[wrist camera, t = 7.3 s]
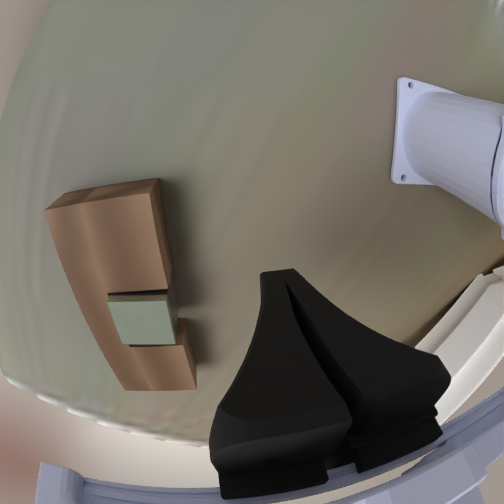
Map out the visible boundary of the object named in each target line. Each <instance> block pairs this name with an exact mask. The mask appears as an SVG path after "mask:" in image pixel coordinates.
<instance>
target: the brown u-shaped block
mask: <svg viewBox="0 0 504 504" xmlns="http://www.w3.org/2000/svg"><path fill="white" fill-rule="evenodd" d="M45 214H46V217H47V221H48V224H49V228H50V231H51V234H52V237H53V240H54V243H55V246H56V249H57V252H58V255H59V257H60V260H61V263H62V266H63V268H64V271H65V273H66V276H67V278H68V281H69V283H70V286H71V288H72V291H73V293H74V295H75V298H76V300H77V302H78V304H79V307H80V309H81V311H82V313H83V315H84V317H85V319H86V321H87V323H88V325H89V327H90V329H91V331H92V333H93V335H94V337H95V339H96V341H97V343H98V345H99V347H100V349H101V350H102V352H103V354H104V356H105V358H106V359H107V361H108V363H109V365H110V366H111V368H112V370H113V371H114V373H115V375H116V376H117V378H118V380H119V381H120V383H121V385H122V386H123V388H124V389H125V390H128V391H169V390H194V389H197V378H196V361H195V358H194V354H193V350H192V346H191V342H190V339H189V335H188V331H187V327H186V322H185V318H182V319H178V320H177V332H176V344H122V341H121V339H120V336H119V334H118V331H117V328H116V326H115V323H114V320H113V318H112V315H111V312H110V309H109V306H108V303H107V301H108V298H109V295H110V293H114V292H129V291H144V290H157V289H168V286H169V280H170V275H171V269H172V258H171V253H170V248H169V242H168V237H167V231H166V225H165V219H164V213H163V207H162V200H161V193H160V186H159V179H158V178H154V179H146V180H139V181H132V182H126V183H119V184H113V185H107V186H101V187H95V188H90V189H84V190H79V191H74V192H69V193H64V194H63V195H62V196H61V197H60V198H58V199H57V200H56V201H55V202H54V203H52V204H51V205H50V206H49V207H48V208H47V209H45Z"/></svg>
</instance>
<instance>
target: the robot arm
mask: <svg viewBox="0 0 504 504" xmlns="http://www.w3.org/2000/svg"><path fill="white" fill-rule="evenodd" d="M408 83H410V88H409V86H408ZM402 175H403V178H402V179H401V176H402ZM391 180H392V181H393V182H394V183H396V184H418V185H437V186H438V187H440V188H442V189H444V190H446V191H447V192H449V193H451V194H452V195H454V196H456V197H457V198H459V199H461V200H462V201H464V202H466V203H467V204H469V205H470V206H472V207H474V208H475V209H477V210H478V211H480V212H481V213H483V214H484V215H486V216H487V217H489V218H490V219H492V220H493V221H495V222H496V223H498V224H499V225H500V227H501V238H502V239H503V240H504V104H501V103H497V102H492V101H488V100H483V99H479V98H474V97H468V96H463V95H460V94H458V93H455V92H452V91H449V90H446V89H443V88H440V87H437V86H434V85H431V84H428V83H424V82H421V81H417V80H414V79H410V78H406V77H400V78H399V79H398V81H397V108H396V126H395V139H394V151H393V160H392V169H391ZM260 289H261V306H260V311H259V316H258V320H257V325H256V328H255V332H254V335H253V338H252V341H251V344H250V346H249V349H248V351H247V354H246V356H245V359H244V361H243V363H242V365H241V367H240V369H239V371H238V373H237V375H236V377H235V379H234V381H233V383H232V385H231V386H230V388H229V389H228V391H227V393H226V394H225V396H224V397H223V399H222V400H221V402H220V404H219V405H218V407H217V411H216V414H215V417H214V420H213V424H212V427H211V432H210V437H209V450H210V459H211V463H212V464H213V466H214V467H215V469H216V470H217V472H218V474H219V484H220V487H217V488H163V487H148V486H137V485H128V484H121V483H114V482H107V481H101V480H96V479H90V478H86V477H83V476H82V475H81V474H79V473H78V472H76V471H74V470H71V469H69V468H66V467H61V466H58V465H54V464H51V463H47V462H44V461H42V462H41V464H40V470H39V476H38V483H37V491H36V499H35V504H270V503H276V502H282V501H288V500H293V499H299V498H303V497H308V496H312V495H316V494H320V493H324V492H328V491H332V490H335V489H339V488H342V487H346V486H349V485H352V484H355V483H358V482H361V481H364V480H367V479H369V478H372V477H375V476H378V475H380V474H383V473H385V472H388V471H390V470H393V469H395V468H397V467H400V466H402V465H404V464H406V463H408V462H411V461H413V460H415V459H417V458H419V457H421V456H423V455H425V454H427V453H429V452H431V451H433V450H435V449H437V448H438V447H439V448H438V449H437V450H435V451H433V452H432V453H430V454H428V455H426V456H425V457H423V458H422V459H421V460H420V462H418V463H417V464H416V465H414V466H413V467H411V468H410V469H408V470H407V471H405V472H404V473H402V475H401V476H400V477H398V478H395V479H393V480H391V481H388V482H386V483H383V484H381V485H378V486H376V487H373V488H371V489H368V490H365V491H362V492H360V493H357V494H354V495H351V496H348V497H345V498H342V499H339V500H336V501H332V502H329V503H326V504H485V502H484V500H483V497H482V495H481V493H480V490H479V487H478V484H479V483H481V482H482V481H483V480H484V479H485V477H486V475H487V470H486V469H487V468H488V467H489V466H490V465H492V464H493V463H494V462H495V461H496V460H497V459H498V458H499V457H500V456H502V454H504V387H502V388H501V389H500V390H498V391H497V392H496V393H494V394H493V395H491V396H490V397H488V398H487V399H485V400H484V401H482V402H481V403H480V404H478V405H476V406H475V407H473V408H472V409H470V410H468V411H467V412H465V413H463V414H462V415H460V416H458V417H457V418H455V419H453V420H451V421H450V422H448V423H446V424H444V425H442V426H439V424H438V422H437V420H436V418H435V417H436V416H437V415H438V411H437V409H436V407H435V406H434V405H435V404H436V403H437V402H438V401H439V399H440V398H441V397H442V396H443V394H444V393H445V392H446V390H447V389H448V387H449V386H450V383H451V379H452V378H451V375H450V373H449V372H448V370H447V369H446V367H445V365H444V364H443V362H442V361H441V359H440V358H439V357H438V356H437V355H434V354H431V353H427V352H424V351H421V350H418V349H414V348H412V347H409V346H406V345H404V344H401V343H399V342H396V341H394V340H392V339H390V338H387V337H385V336H383V335H381V334H379V333H377V332H376V331H374V330H372V329H370V328H368V327H366V326H365V325H363V324H361V323H360V322H358V321H357V320H355V319H353V318H352V317H350V316H349V315H347V314H346V313H344V312H343V311H342V310H340V309H339V308H338V307H336V306H335V305H334V304H333V303H331V302H330V301H329V300H328V299H327V298H325V297H324V296H323V295H322V294H321V293H320V292H318V291H317V290H316V289H315V288H314V287H313V286H312V285H311V284H310V283H309V282H308V281H306V280H305V279H304V278H303V277H302V276H301V275H300V274H299V273H298V272H297V271H296V270H295V269H294V268H293V269H285V270H277V271H268V272H262V273H261V274H260Z"/></svg>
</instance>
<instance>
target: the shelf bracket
mask: <svg viewBox="0 0 504 504" xmlns="http://www.w3.org/2000/svg"><path fill="white" fill-rule="evenodd" d="M415 349H418V350H421V351H424V352H427V353H431V354H434V355H437V356H438V357H439V358H440V359H441V361H442V362H443V364H444V365H445V367H446V369H447V370H448V372H449V373H450V375H451V378H452V379H451V383H450V386H449V387H448V389H447V390H446V392H445V393H444V394H443V396H442V397H441V398H440V399H439V401H438V402H437V403H436V404H435V405H434V406H435V407H436V409H437V411H438V415H437V416H436V417H435V418H436V420H437V422H438V424H439V426H440V425H441V424H442V423H443V422H444V421H445V420H447V419H448V418H449V417H450V416H451V415H452V414H453V413H454V412H455V411H456V410H457V409H458V408H459V407H460V406H461V405H462V404H463V403H464V402H465V400H467V399H468V398H469V397H470V395H471V394H472V393H473V392H474V391H475V390H476V389H477V388H478V387H479V386H480V384H481V383H482V382H483V381H484V380H485V379H486V377H487V376H488V375H489V374H490V373H491V371H492V370H493V369H494V368H495V367H496V365H497V364H498V363H499V361H500V360H501V358H502V357H503V356H504V266H501V267H499V268H496V269H493V273H492V274H489V275H485V276H483V274H482V273H481V274H479V275H478V276H477V277H476V278H475V279H474V280H473V282H472V283H471V284H470V285H469V286H468V288H467V289H466V290H465V291H464V293H463V294H462V295H461V296H460V298H459V299H458V300H457V301H456V303H455V304H454V305H453V306H452V307H451V308H450V310H449V311H448V312H447V313H446V314H445V315H444V317H443V318H442V319H441V320H440V321H439V322H438V323H437V324H436V325H435V327H434V328H433V329H432V330H431V331H430V332H429V333H428V334H427V335H426V336H425V337H424V338H423V339H422V340H421V341H420V342H419V343H418V344H417V345H416V346H415Z"/></svg>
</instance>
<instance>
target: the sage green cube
mask: <svg viewBox="0 0 504 504" xmlns="http://www.w3.org/2000/svg"><path fill="white" fill-rule="evenodd" d="M107 303H108V306H109V309H110V312H111V315H112V318H113V320H114V323H115V326H116V328H117V331H118V334H119V336H120V339H121V341H122V344H176V332H177V320H178V309H179V307H178V302H177V296H176V289H175V283H174V277H173V270H172V269H171V275H170V280H169V286H168V289H157V290H144V291H129V292H114V293H110V295H109V298H108V301H107Z"/></svg>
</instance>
